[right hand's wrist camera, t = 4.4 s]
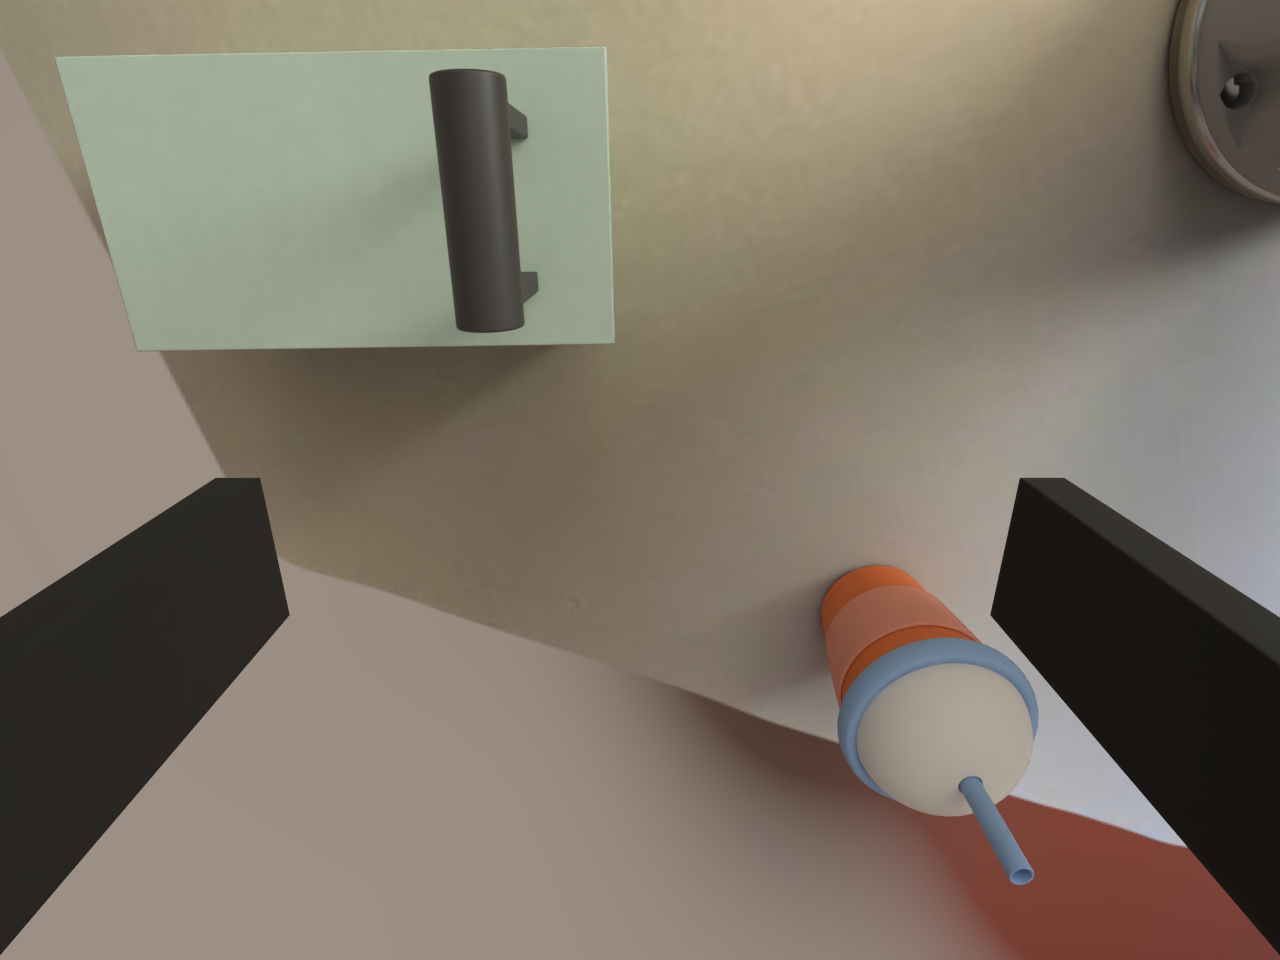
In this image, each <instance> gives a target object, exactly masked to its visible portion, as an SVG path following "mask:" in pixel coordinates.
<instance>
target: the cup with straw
mask: <svg viewBox="0 0 1280 960" xmlns="http://www.w3.org/2000/svg"><path fill="white" fill-rule="evenodd" d="M821 621H822V626H823V630H824V634H825V638H826V644H825V648H826V655H827V660H828V664H829V668H830V672H831V676H832V680H833V684H834V688H835V692H836V696H837V700H838V704H839V708H840V711H839V715H838V738H839V743H840V746H841V750H842V752H843V755H844V757H845V759H846V761H847V763H848V764H849V766H850V768H851V769H852V770H853V772H854V773H855V774H856V775H857V776H858V777H859V779H860V780H861V781H862V782H864V783H865V784H866V785H867V786H869V787H870V788H871V789H873V790H874V791H876V792H877V793H879V794H881V795H883V796H885V797H888V798H890V799H893V800H896V801H898V802H900V803H902V804H903V805H905V806H908V807H910V808H912V809H915V810H917V811H920V812H924V813H928V814H932V815H939V816H962V815H968V814H972V813H974V815H975V817H976V819H977V820H978V822H979V824H980V826H981V828H982V830H983V832H984V833H985V835H986V837H987V839H988V841H989V843H990V844H991V846H992V848H993V850H994V852H995V854H996V856H997V857H998V859H999V861H1000V863H1001V865H1002V867H1003V868H1004V870H1005V872H1006V874H1007V876H1008V878H1009V879H1010V881H1011V882H1012V883H1014V884H1016V885H1023V884H1026V883H1028V882H1030V881H1031V880H1032V879H1033V877H1034V872H1033V870H1032V868H1031V867H1030V865H1029V863H1028V861H1027V860H1026V858H1025V856H1024V855H1023V853H1022V851H1021V849H1020V848H1019V846H1018V845H1017V843H1016V841H1015V839H1014V838H1013V836H1012V834H1011V832H1010V831H1009V829H1008V827H1007V826H1006V824H1005V822H1004V820H1003V819H1002V817H1001V815H1000V814H999V812H998V810H997V808H996V807H995V804H996V803H998V802H999V801H1001V800H1002V799H1004V798H1005V797H1006V796H1007V795H1008V794H1009V793H1010V792H1011V791H1012V790H1013V789H1014V788H1015V787H1016V786H1017V784H1018V783H1019V782H1020V780H1021V779H1022V777H1023V775H1024V773H1025V771H1026V769H1027V767H1028V764H1029V761H1030V757H1031V753H1032V746H1033V741H1034V738H1035V736H1036V732H1037V727H1038V707H1037V701H1036V698H1035V694H1034V692H1033V689H1032V687H1031V685H1030V683H1029V681H1028V680H1027V678H1026V676H1025V675H1024V673H1023V672H1022V671H1021V670H1020V669H1019V667H1018V666H1017V665H1016V664H1015V663H1014V662H1013V661H1012V660H1010V659H1009V658H1008V657H1006V656H1005V655H1004V654H1002V653H1001V652H999V651H997V650H996V649H994V648H992V647H989V646H987V645H985V644H982V642H981V641H980V640H979V639H978V638H977V637H976V636H975V635H974V634H973V633H972V632H971V631H970V630H969V629H968V628H967V627H966V626H965V625H964V624H963V623H962V622H961V621H960V620H959V619H958V618H957V617H956V616H955V615H954V614H953V613H952V612H951V611H950V610H949V609H948V608H947V607H946V606H945V605H944V604H943V603H942V602H941V601H940V600H939V599H937V598H936V597H935V596H933V595H932V594H930V593H928V592H926V591H925V590H924V589H923V588H922V587H921V586H920V585H919V584H918V583H917V582H916V581H915V580H914V579H913V578H912V577H911V576H910V575H908V574H907V573H905V572H903V571H901V570H899V569H896V568H893V567H889V566H880V565H877V566H867V567H863V568H859V569H856V570H854V571H852V572H850V573H848V574H846V575H844V576H843V577H842V578H840V579H839V580H838V581H837V582H836V583H835V584H834V585H833V586H832V587H831V588H830V590H829V591H828V593H827V595H826V596H825V599H824V601H823V604H822V609H821Z"/></svg>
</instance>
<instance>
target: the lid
mask: <svg viewBox="0 0 1280 960" xmlns="http://www.w3.org/2000/svg"><path fill="white" fill-rule="evenodd" d="M55 61H56V65H57V68H58V72H59V75H60V79H61V82H62V86H63V89H64V93H65V97H66V100H67V104H68V107H69V111H70V114H71V118H72V121H73V125H74V128H75V132H76V136H77V139H78V143H79V146H80V150H81V153H82V157H83V160H84V164H85V168H86V171H87V175H88V178H89V182H90V185H91V189H92V192H93V196H94V199H95V203H96V207H97V210H98V214H99V217H100V221H101V224H102V228H103V231H104V235H105V239H106V242H107V246H108V249H109V253H110V256H111V260H112V263H113V267H114V270H115V274H116V278H117V281H118V285H119V288H120V292H121V295H122V299H123V302H124V306H125V310H126V313H127V317H128V320H129V324H130V327H131V331H132V334H133V338H134V342H135V345H136V349H137V351H189V350H255V349H321V348H387V347H453V346H519V345H585V344H614V342H615V318H614V283H613V248H612V214H611V179H610V144H609V109H608V74H607V51H606V48H605V47H604V46H603V47H549V48H495V49H441V50H387V51H333V52H279V53H225V54H171V55H117V56H63V57H55Z"/></svg>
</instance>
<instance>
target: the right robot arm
mask: <svg viewBox="0 0 1280 960" xmlns="http://www.w3.org/2000/svg"><path fill="white" fill-rule="evenodd" d="M1169 83H1170V95H1171V101H1172V107H1173V112H1174V115H1175V119H1176V122H1177V125H1178V128H1179V131H1180V133H1181V135H1182V138H1183V140H1184V142H1185V144H1186V146H1187V147H1188V149H1189V151H1190V153H1191V154H1192V155H1193V157H1194V158H1195V159H1196V161H1197V162H1198V163H1199V165H1200V166H1201V167H1202V168H1203V169H1204V170H1205V171H1206V172H1207V173H1208V174H1209V175H1210V176H1211V177H1212V178H1214V179H1215V180H1216V181H1218V182H1219V183H1220V184H1221V185H1223V186H1225V187H1227V188H1228V189H1230V190H1232V191H1233V192H1236V193H1238V194H1240V195H1243V196H1245V197H1248V198H1252V199H1255V200H1259V201H1263V202H1270V203H1278V204H1280V0H1181V1H1180V4H1179V8H1178V12H1177V15H1176V19H1175V24H1174V29H1173V34H1172V39H1171V48H1170V57H1169ZM288 616H289V610H288V606H287V601H286V596H285V591H284V587H283V582H282V578H281V573H280V568H279V564H278V559H277V554H276V550H275V545H274V540H273V536H272V531H271V527H270V522H269V517H268V513H267V508H266V503H265V499H264V494H263V489H262V485H261V480H260V478H215V479H213V480H212V481H210V482H209V483H207V484H206V485H204V486H203V487H201V488H200V489H198V490H197V491H195V492H193V493H192V494H190V495H189V496H187V497H186V498H184V499H183V500H181V501H179V502H178V503H176V504H175V505H173V506H172V507H170V508H169V509H167V510H166V511H164V512H162V513H161V514H159V515H158V516H156V517H155V518H153V519H152V520H150V521H149V522H147V523H145V524H144V525H142V526H141V527H139V528H138V529H136V530H135V531H133V532H132V533H130V534H129V535H127V536H125V537H124V538H122V539H121V540H119V541H118V542H116V543H115V544H113V545H111V546H110V547H109V548H107V549H105V550H104V551H102V552H101V553H99V554H98V555H96V556H94V557H93V558H91V559H90V560H88V561H87V562H85V563H84V564H82V565H81V566H79V567H78V568H76V569H74V570H73V571H71V572H70V573H68V574H67V575H65V576H64V577H62V578H61V579H59V580H57V581H56V582H54V583H53V584H51V585H50V586H48V587H47V588H45V589H44V590H42V591H41V592H39V593H37V594H36V595H34V596H33V597H31V598H30V599H28V600H27V601H25V602H23V603H22V604H20V605H19V606H17V607H16V608H14V609H13V610H11V611H10V612H8V613H6V614H5V615H3V616H2V617H0V955H1V954H2V952H3V951H4V950H5V949H6V948H7V946H8V945H9V944H10V943H11V942H12V941H13V939H14V938H15V937H16V936H17V935H18V934H19V932H20V931H21V930H22V929H23V928H24V926H25V925H26V924H27V923H28V922H29V921H30V919H31V918H32V917H33V916H34V915H35V914H36V912H37V911H38V910H39V909H40V908H41V907H42V905H43V904H44V903H45V902H46V901H47V899H48V898H49V897H50V896H51V895H52V894H53V892H54V891H55V890H56V889H57V888H58V886H59V885H60V884H61V883H62V882H63V881H64V879H65V878H66V877H67V876H68V875H69V874H70V872H71V871H72V870H73V869H74V868H75V867H76V865H77V864H78V863H79V862H80V861H81V860H82V858H83V857H84V856H85V855H86V854H87V852H88V851H89V850H90V849H91V848H92V847H93V845H94V844H95V843H96V842H97V841H98V840H99V838H100V837H101V836H102V835H103V834H104V832H105V831H106V830H107V829H108V828H109V827H110V825H111V824H112V823H113V822H114V821H115V820H116V818H117V817H118V816H119V815H120V814H121V813H122V811H123V810H124V809H125V808H126V807H127V805H128V804H129V803H130V802H131V801H132V800H133V798H134V797H135V796H136V795H137V794H138V793H139V791H140V790H141V789H142V788H143V787H144V785H145V784H146V783H147V782H148V781H149V780H150V778H151V777H152V776H153V775H154V774H155V773H156V771H157V770H158V769H159V768H160V767H161V766H162V764H163V763H164V762H165V761H166V760H167V758H168V757H169V756H170V755H171V754H172V753H173V751H174V750H175V749H176V748H177V747H178V746H179V744H180V743H181V742H182V741H183V740H184V738H185V737H186V736H187V735H188V734H189V733H190V731H191V730H192V729H193V728H194V727H195V726H196V724H197V723H198V722H199V721H200V720H201V719H202V717H203V716H204V715H205V714H206V713H207V711H208V710H209V709H210V708H211V707H212V706H213V704H214V703H215V702H216V701H217V700H218V699H219V697H220V696H221V695H222V694H223V693H224V691H225V690H226V689H227V688H228V687H229V686H230V684H231V683H232V682H233V681H234V680H235V679H236V677H237V676H238V675H239V674H240V673H241V671H242V670H243V669H244V668H245V667H246V666H247V664H248V663H249V662H250V661H251V660H252V659H253V657H254V656H255V655H256V654H257V653H258V652H259V650H260V649H261V648H262V647H263V646H264V644H265V643H266V642H267V641H268V640H269V639H270V637H271V636H272V635H273V634H274V633H275V631H276V630H277V629H278V628H279V627H280V626H281V624H282V623H283V622H284V621H285V620H286V619H287V617H288ZM991 616H992V617H993V619H994V620H995V621H996V622H997V623H998V625H999V626H1000V627H1001V628H1002V629H1003V630H1004V632H1005V633H1006V634H1007V635H1008V636H1009V637H1010V639H1011V640H1012V641H1013V642H1014V643H1015V644H1016V646H1017V647H1018V648H1019V649H1020V650H1021V652H1022V653H1023V654H1024V655H1025V656H1026V657H1027V659H1028V660H1029V661H1030V662H1031V663H1032V664H1033V666H1034V667H1035V668H1036V669H1037V670H1038V672H1039V673H1040V674H1041V675H1042V676H1043V677H1044V679H1045V680H1046V681H1047V682H1048V683H1049V684H1050V686H1051V687H1052V688H1053V689H1054V690H1055V691H1056V693H1057V694H1058V695H1059V696H1060V697H1061V699H1062V700H1063V701H1064V702H1065V703H1066V704H1067V706H1068V707H1069V708H1070V709H1071V710H1072V711H1073V713H1074V714H1075V715H1076V716H1077V717H1078V719H1079V720H1080V721H1081V722H1082V723H1083V724H1084V726H1085V727H1086V728H1087V729H1088V730H1089V731H1090V733H1091V734H1092V735H1093V736H1094V737H1095V738H1096V740H1097V741H1098V742H1099V743H1100V744H1101V746H1102V747H1103V748H1104V749H1105V750H1106V751H1107V753H1108V754H1109V755H1110V756H1111V757H1112V758H1113V760H1114V761H1115V762H1116V763H1117V764H1118V766H1119V767H1120V768H1121V769H1122V770H1123V771H1124V773H1125V774H1126V775H1127V776H1128V777H1129V778H1130V780H1131V781H1132V782H1133V783H1134V784H1135V785H1136V787H1137V788H1138V789H1139V790H1140V791H1141V793H1142V794H1143V795H1144V796H1145V797H1146V798H1147V800H1148V801H1149V802H1150V803H1151V804H1152V805H1153V807H1154V808H1155V809H1156V810H1157V811H1158V813H1159V814H1160V815H1161V816H1162V817H1163V818H1164V820H1165V821H1166V822H1167V823H1168V824H1169V825H1170V827H1171V828H1172V829H1173V830H1174V831H1175V832H1176V834H1177V835H1178V836H1179V837H1180V838H1181V840H1182V841H1183V842H1184V843H1185V844H1186V845H1187V847H1188V848H1189V849H1190V850H1191V851H1192V852H1193V854H1194V855H1195V856H1196V857H1197V858H1198V860H1199V861H1200V862H1201V863H1202V864H1203V865H1204V867H1205V868H1206V869H1207V870H1208V871H1209V872H1210V874H1211V875H1212V876H1213V877H1214V878H1215V879H1216V881H1217V882H1218V883H1219V884H1220V885H1221V887H1222V888H1223V889H1224V890H1225V891H1226V892H1227V894H1228V895H1229V896H1230V897H1231V898H1232V899H1233V901H1234V902H1235V903H1236V904H1237V905H1238V906H1239V908H1240V909H1241V910H1242V911H1243V912H1244V914H1245V915H1246V916H1247V917H1248V918H1249V919H1250V921H1251V922H1252V923H1253V924H1254V925H1255V927H1256V928H1257V929H1258V930H1259V931H1260V932H1261V934H1262V935H1263V936H1264V937H1265V938H1266V939H1267V941H1268V942H1269V943H1270V944H1271V945H1272V946H1273V948H1274V949H1275V950H1276V951H1277V952H1278V954H1279V955H1280V617H1278V616H1277V615H1275V614H1274V613H1272V612H1270V611H1269V610H1267V609H1266V608H1264V607H1263V606H1261V605H1260V604H1258V603H1257V602H1255V601H1253V600H1252V599H1250V598H1249V597H1247V596H1246V595H1244V594H1243V593H1241V592H1240V591H1238V590H1236V589H1235V588H1233V587H1232V586H1230V585H1229V584H1227V583H1226V582H1224V581H1223V580H1221V579H1219V578H1218V577H1216V576H1215V575H1213V574H1212V573H1210V572H1209V571H1207V570H1206V569H1204V568H1202V567H1201V566H1199V565H1198V564H1196V563H1195V562H1193V561H1192V560H1190V559H1189V558H1187V557H1186V556H1184V555H1182V554H1181V553H1179V552H1178V551H1176V550H1175V549H1173V548H1172V547H1170V546H1169V545H1167V544H1165V543H1164V542H1162V541H1161V540H1159V539H1158V538H1156V537H1155V536H1153V535H1152V534H1150V533H1148V532H1147V531H1145V530H1144V529H1142V528H1141V527H1139V526H1138V525H1136V524H1135V523H1133V522H1131V521H1130V520H1128V519H1127V518H1125V517H1124V516H1122V515H1121V514H1119V513H1118V512H1116V511H1114V510H1113V509H1111V508H1110V507H1108V506H1107V505H1105V504H1104V503H1102V502H1101V501H1099V500H1097V499H1096V498H1094V497H1093V496H1091V495H1090V494H1088V493H1087V492H1085V491H1084V490H1082V489H1080V488H1079V487H1077V486H1076V485H1074V484H1073V483H1071V482H1070V481H1068V480H1067V479H1065V478H1020V480H1019V485H1018V489H1017V494H1016V499H1015V503H1014V508H1013V513H1012V517H1011V522H1010V527H1009V531H1008V536H1007V540H1006V545H1005V550H1004V554H1003V559H1002V564H1001V568H1000V573H999V578H998V582H997V587H996V591H995V596H994V601H993V605H992V610H991Z"/></svg>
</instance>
